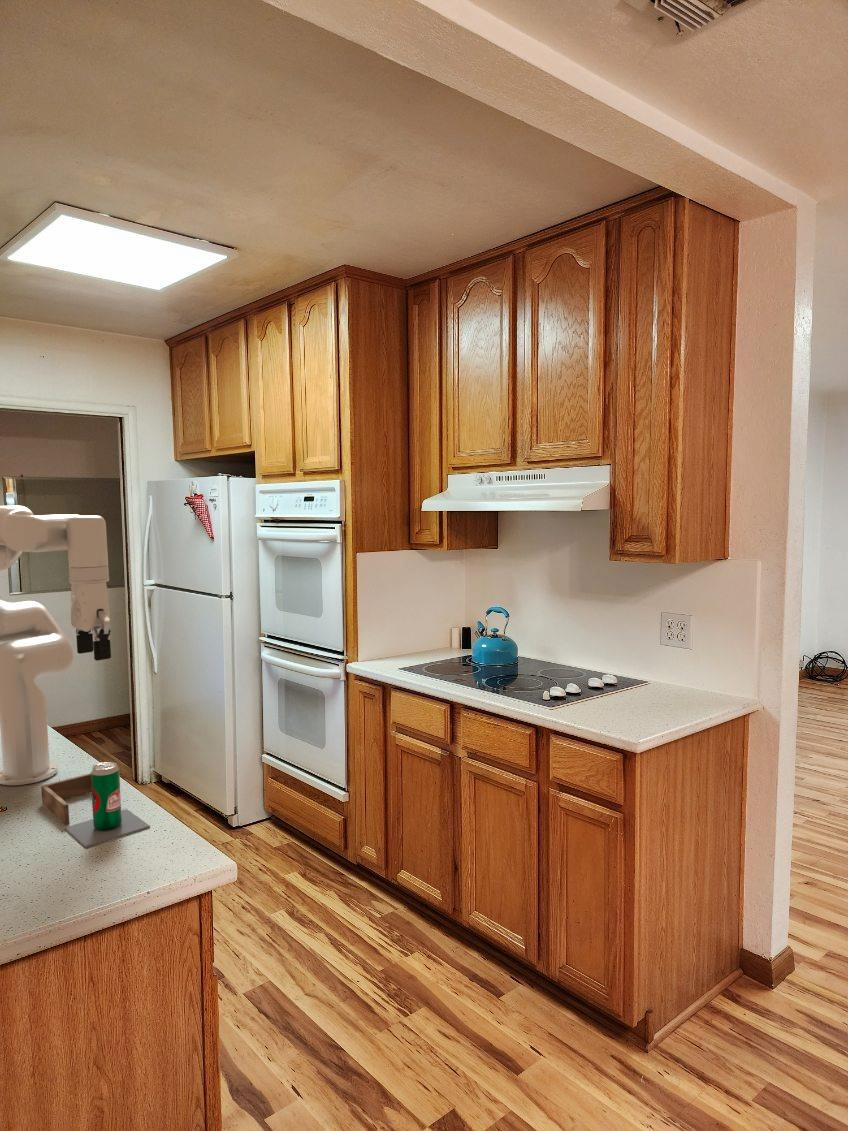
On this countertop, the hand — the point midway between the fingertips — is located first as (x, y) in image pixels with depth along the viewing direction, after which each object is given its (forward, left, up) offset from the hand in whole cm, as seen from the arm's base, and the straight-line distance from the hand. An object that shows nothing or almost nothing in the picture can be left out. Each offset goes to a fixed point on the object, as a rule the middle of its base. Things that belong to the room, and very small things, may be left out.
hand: (94, 655), depth 160 cm
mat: (+18, -5, -30) cm, 35 cm away
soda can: (+18, -5, -30) cm, 35 cm away
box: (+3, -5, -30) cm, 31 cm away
